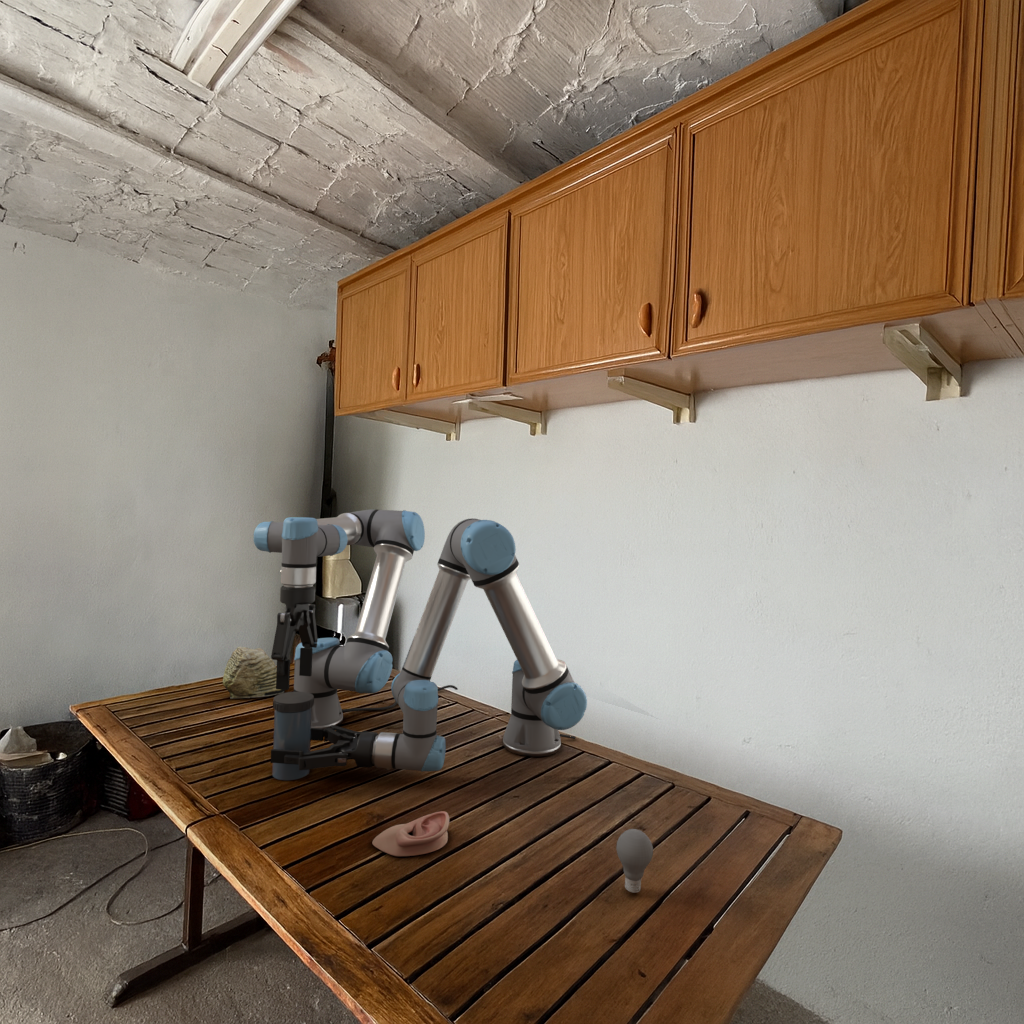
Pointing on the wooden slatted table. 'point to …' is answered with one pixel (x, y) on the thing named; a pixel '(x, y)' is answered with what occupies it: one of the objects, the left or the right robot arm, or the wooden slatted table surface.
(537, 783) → the wooden slatted table surface
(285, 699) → the lid
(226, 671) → the fossil
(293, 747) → the jar
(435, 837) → the anatomical model
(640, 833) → the light bulb
